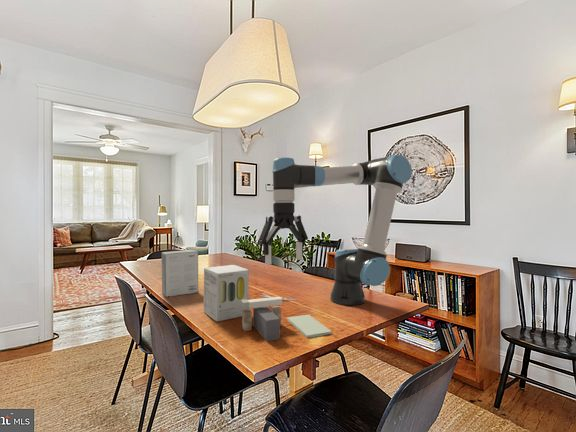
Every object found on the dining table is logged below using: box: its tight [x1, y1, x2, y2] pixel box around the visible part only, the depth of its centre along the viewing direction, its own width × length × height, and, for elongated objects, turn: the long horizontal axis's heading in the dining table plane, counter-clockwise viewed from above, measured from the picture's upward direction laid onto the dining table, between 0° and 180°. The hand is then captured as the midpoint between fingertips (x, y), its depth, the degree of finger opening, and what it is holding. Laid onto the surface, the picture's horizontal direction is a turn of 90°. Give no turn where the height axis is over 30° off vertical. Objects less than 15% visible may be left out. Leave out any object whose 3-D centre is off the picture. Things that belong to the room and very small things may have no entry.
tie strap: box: [241, 296, 283, 310], centre depth 105 cm, size 14×4×2 cm, turn 112°
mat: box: [286, 314, 333, 339], centre depth 105 cm, size 9×17×1 cm, turn 22°
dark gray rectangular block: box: [252, 306, 281, 342], centre depth 100 cm, size 4×14×6 cm, turn 23°
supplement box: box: [203, 264, 250, 322], centre depth 117 cm, size 13×13×18 cm
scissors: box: [258, 292, 298, 301], centre depth 139 cm, size 11×1×20 cm
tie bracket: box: [241, 305, 282, 331], centre depth 105 cm, size 13×3×6 cm, turn 112°
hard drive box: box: [161, 249, 199, 298], centre depth 145 cm, size 16×8×20 cm, turn 123°
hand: (284, 261), depth 108 cm, fingers open, 13 cm apart
